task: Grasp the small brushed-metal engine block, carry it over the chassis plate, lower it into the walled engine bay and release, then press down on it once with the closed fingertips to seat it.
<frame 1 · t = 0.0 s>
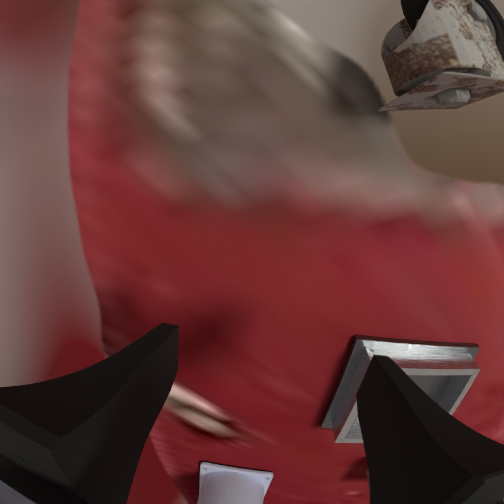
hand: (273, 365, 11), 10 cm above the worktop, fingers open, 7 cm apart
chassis: (401, 387, 23), on the worktop
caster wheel: (430, 40, 15), on the worktop
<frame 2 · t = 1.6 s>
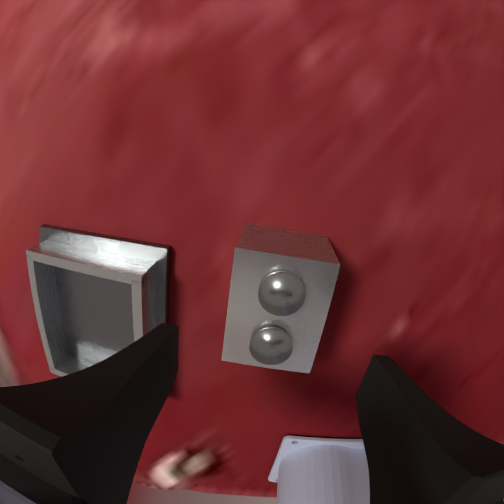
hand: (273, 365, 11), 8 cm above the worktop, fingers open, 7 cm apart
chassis: (103, 314, 20), on the worktop
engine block: (278, 278, 18), on the worktop
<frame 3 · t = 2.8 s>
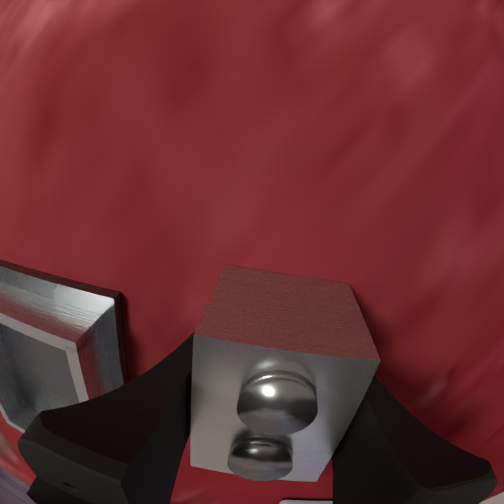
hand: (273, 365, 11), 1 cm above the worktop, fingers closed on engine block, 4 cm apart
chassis: (54, 366, 14), on the worktop
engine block: (274, 343, 12), on the worktop, touching gripper
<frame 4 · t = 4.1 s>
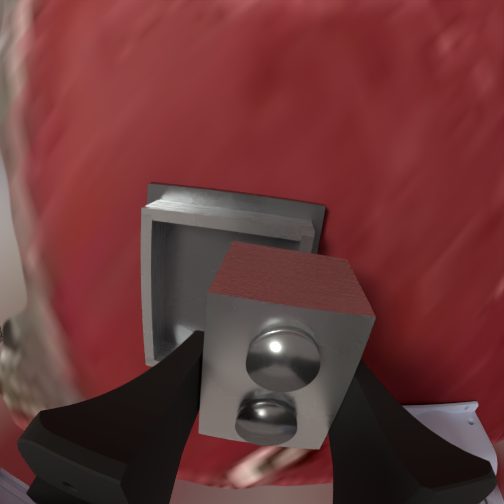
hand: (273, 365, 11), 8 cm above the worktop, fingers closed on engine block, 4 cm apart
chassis: (225, 288, 19), on the worktop
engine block: (277, 316, 13), point 6 cm above the worktop, touching gripper
when the fingers open (4 cm above the worktop, at t = 5.7 s): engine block stays where it is, resting on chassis.
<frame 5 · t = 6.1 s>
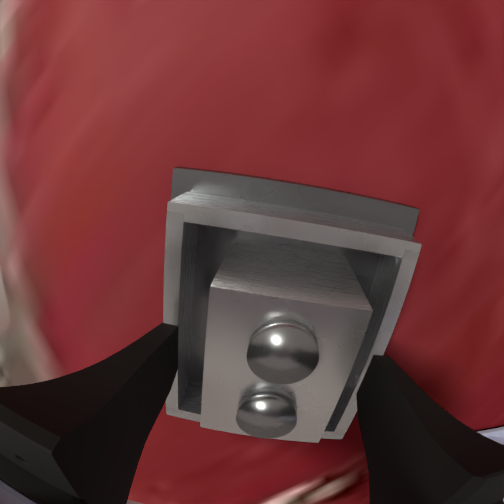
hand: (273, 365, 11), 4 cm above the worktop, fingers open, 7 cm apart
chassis: (276, 315, 14), on the worktop
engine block: (277, 312, 14), point 1 cm above the worktop, touching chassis
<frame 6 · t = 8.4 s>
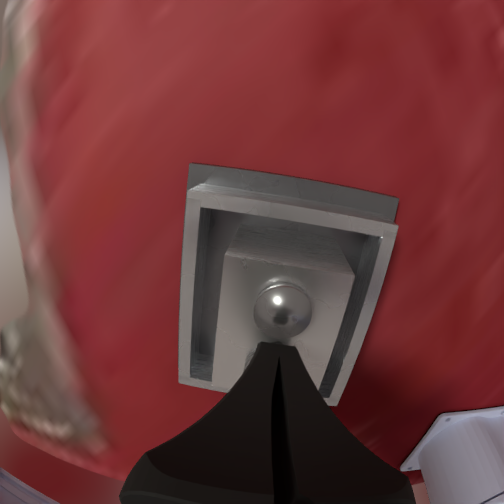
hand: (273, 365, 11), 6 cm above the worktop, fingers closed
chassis: (276, 291, 17), on the worktop
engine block: (278, 288, 16), point 1 cm above the worktop, touching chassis
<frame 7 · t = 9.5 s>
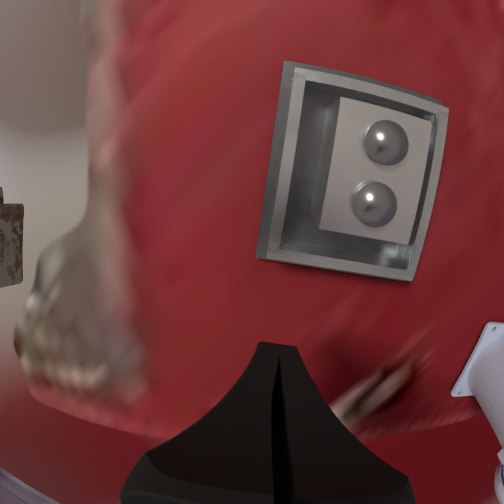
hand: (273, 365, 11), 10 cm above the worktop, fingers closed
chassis: (352, 173, 18), on the worktop
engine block: (356, 166, 17), point 1 cm above the worktop, touching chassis
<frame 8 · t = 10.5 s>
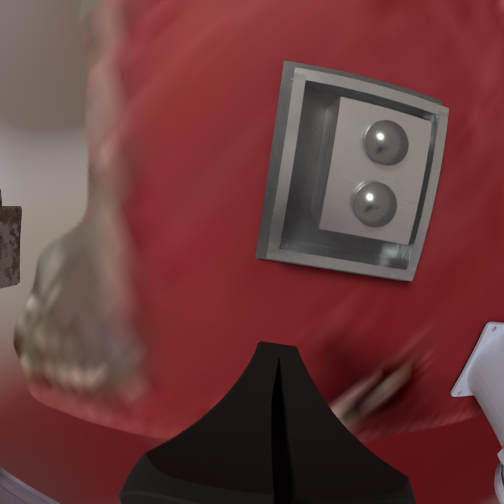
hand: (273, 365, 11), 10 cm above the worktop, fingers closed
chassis: (352, 173, 18), on the worktop
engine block: (356, 166, 17), point 1 cm above the worktop, touching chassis
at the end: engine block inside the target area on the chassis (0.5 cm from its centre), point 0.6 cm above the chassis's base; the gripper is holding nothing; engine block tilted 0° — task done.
